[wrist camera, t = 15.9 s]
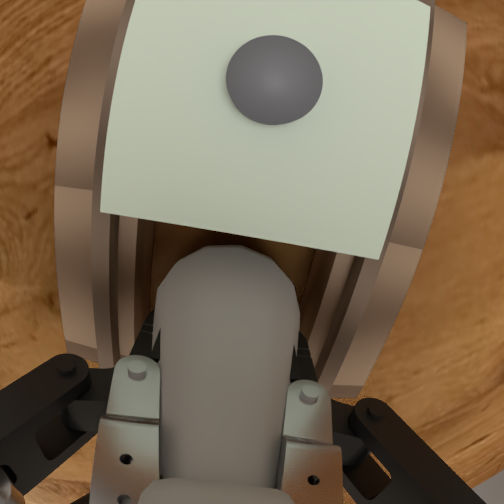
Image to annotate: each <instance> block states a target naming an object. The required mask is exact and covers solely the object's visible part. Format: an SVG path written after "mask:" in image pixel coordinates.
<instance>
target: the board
mask: <svg viewBox="0 0 504 504" xmlns="http://www.w3.org/2000/svg"><path fill="white" fill-rule="evenodd" d="M418 1H420V2H422V3H424V4H426V5H428V6H430V21H429V32H428V42H427V51H426V59H425V67H424V74H423V81H422V87H421V93H420V99H419V105H418V111H417V116H416V121H415V126H414V131H413V136H412V141H411V145H410V150H409V154H408V158H407V163H406V167H405V171H404V175H403V179H402V183H401V187H400V190H399V194H398V198H397V201H396V205H395V209H394V212H393V215H392V219H391V222H390V226H389V229H388V232H387V235H386V239H385V242H384V245H383V248H382V251H381V254H380V257H379V260H376V259H371V258H366V257H360V256H355V255H349V254H344V253H338V252H333V251H327V250H322V249H316V250H315V254H314V258H313V261H312V265H311V268H310V272H309V275H308V279H307V282H306V286H305V289H304V293H303V296H302V300H301V303H300V306H299V311H300V328H299V331H300V332H301V333H302V334H303V335H304V337H305V338H306V339H307V342H308V346H309V350H310V353H311V358H312V361H313V365H314V369H315V372H316V376H317V380H318V383H319V384H321V385H322V386H324V387H325V388H326V389H327V390H328V392H329V393H330V396H331V398H357V396H358V394H359V393H360V391H361V389H362V387H363V385H364V383H365V382H366V380H367V378H368V376H369V374H370V372H371V370H372V368H373V366H374V364H375V362H376V360H377V358H378V356H379V354H380V352H381V350H382V348H383V346H384V344H385V342H386V339H387V337H388V335H389V333H390V331H391V329H392V326H393V324H394V322H395V320H396V317H397V315H398V313H399V310H400V308H401V306H402V303H403V301H404V298H405V296H406V294H407V291H408V288H409V286H410V283H411V281H412V278H413V276H414V273H415V270H416V268H417V265H418V262H419V259H420V257H421V254H422V251H423V248H424V245H425V242H426V239H427V236H428V233H429V230H430V227H431V223H432V220H433V217H434V214H435V210H436V207H437V203H438V200H439V196H440V193H441V189H442V185H443V181H444V177H445V173H446V169H447V165H448V161H449V156H450V152H451V147H452V142H453V137H454V132H455V127H456V121H457V116H458V110H459V103H460V96H461V89H462V81H463V73H464V63H465V51H466V36H467V23H466V22H464V21H462V20H461V19H459V18H457V17H456V16H454V15H452V14H450V13H449V12H447V11H445V10H443V9H441V8H440V7H438V6H436V5H435V0H418ZM134 3H135V0H86V2H85V6H84V9H83V12H82V16H81V19H80V22H79V26H78V30H77V33H76V37H75V41H74V45H73V50H72V54H71V58H70V63H69V68H68V73H67V78H66V83H65V89H64V95H63V102H62V108H61V116H60V124H59V132H58V142H57V154H56V169H55V194H54V229H55V254H56V269H57V281H58V291H59V300H60V309H61V316H62V323H63V330H64V336H65V342H66V347H67V353H68V354H75V355H78V356H80V357H82V358H83V359H87V360H90V361H94V362H97V363H99V368H100V369H106V368H113V367H115V365H116V363H117V362H118V361H119V360H120V359H122V358H124V357H126V356H129V354H130V352H131V350H132V347H133V345H134V343H135V341H136V339H137V336H138V334H139V332H140V331H141V328H142V325H143V324H144V321H145V319H146V317H147V315H148V314H149V306H150V283H151V266H152V252H153V239H154V228H155V221H153V220H147V219H141V218H134V217H128V216H122V215H116V214H109V213H103V212H100V205H101V188H102V175H103V164H104V154H105V145H106V137H107V129H108V122H109V115H110V109H111V103H112V97H113V91H114V86H115V80H116V75H117V70H118V66H119V61H120V57H121V52H122V48H123V44H124V40H125V36H126V32H127V28H128V24H129V20H130V17H131V13H132V10H133V6H134Z"/></svg>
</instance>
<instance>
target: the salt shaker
mask: <svg viewBox="0 0 504 504" xmlns="http://www.w3.org/2000/svg"><path fill="white" fill-rule="evenodd" d="M160 327H161V333H160V360H159V362H158V363H157V364H158V366H159V368H160V399H159V475H162V478H163V479H160V480H154V481H153V482H152V483H151V484H150V485H149V486H148V487H147V488H146V489H145V490H144V491H143V492H142V493H141V495H140V498H139V502H138V504H295V503H294V501H293V500H292V499H291V497H290V496H289V494H287V493H285V492H282V491H280V490H278V489H274V488H276V486H277V477H276V474H277V467H278V460H279V453H280V445H281V438H282V430H283V422H284V414H285V406H286V397H287V390H288V387H289V386H290V384H291V382H290V371H291V363H292V354H293V346H295V351H296V356H297V349H298V347H297V346H298V333H299V328H300V311H299V306H298V302H297V297H296V293H295V288H294V285H293V283H292V282H291V280H290V279H289V278H288V276H287V275H286V274H285V273H284V272H283V271H282V270H281V269H280V267H279V266H278V265H277V264H276V263H275V262H274V261H273V259H272V258H271V257H269V256H266V255H264V254H261V253H259V252H257V251H254V250H252V249H249V248H247V247H245V246H242V245H212V246H205V247H203V248H201V249H199V250H197V251H195V252H193V253H191V254H189V255H187V256H186V257H184V258H182V259H180V260H178V261H177V262H176V263H175V265H174V266H173V267H172V269H171V270H170V272H169V273H168V274H167V276H166V277H165V279H164V280H163V281H162V283H161V284H160V286H159V287H158V288H157V295H156V303H155V311H154V322H153V332H152V334H153V337H152V349H153V346H154V343H155V341H156V338H157V335H158V333H159V330H160ZM131 503H132V500H131V499H124V500H123V501H122V502H121V504H131Z"/></svg>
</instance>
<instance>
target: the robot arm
mask: <svg viewBox="0 0 504 504" xmlns="http://www.w3.org/2000/svg"><path fill="white" fill-rule="evenodd" d="M154 311H155V309H154V310H153V311H151V312H150V313H149V314H148V315H147V317H146V319H145V321H144V324H143V325H142V328H141V331H140V332H139V334H138V336H137V339H136V341H135V343H134V345H133V347H132V350H131V352H130V354H129V356H126V357H124V358H122V359H120V360H119V361H118V362H117V363H116V365H115V367H113V368H106V369H97V368H89V367H88V364H87V362H86V361H85V360H84V359H83V358H82V357H80V356H78V355H75V354H67V353H66V354H60V355H57V356H55V357H53V358H51V359H49V360H48V361H46V362H45V363H43V364H41V365H40V366H38V367H37V368H35V369H33V370H32V371H30V372H29V373H27V374H26V375H24V376H22V377H21V378H19V379H18V380H16V381H14V382H13V383H11V384H10V385H8V386H6V387H5V388H3V389H2V390H0V504H25V500H24V497H23V496H24V495H25V494H27V493H28V492H29V491H30V490H31V489H33V488H34V487H35V486H36V485H37V484H39V483H40V482H41V481H42V480H43V479H45V478H46V477H47V476H48V475H49V474H51V473H52V472H53V471H54V470H55V469H56V468H58V467H59V466H60V465H61V464H62V463H64V462H65V461H66V460H67V459H68V458H69V457H71V456H72V455H73V454H74V453H75V452H76V451H77V450H79V449H80V448H81V447H82V446H83V445H84V444H86V443H87V442H88V441H89V440H90V439H91V438H92V437H94V436H95V435H96V434H97V432H98V434H97V441H96V448H95V455H94V463H93V471H92V480H91V490H90V493H88V494H86V495H85V496H83V497H81V498H79V499H78V500H76V501H74V502H72V503H71V504H121V502H122V501H123V500H124V499H131V500H132V503H131V504H138V502H139V498H140V495H141V493H142V492H143V491H144V490H145V489H146V488H147V487H148V486H149V485H150V484H151V483H152V482H153V481H154V480H160V479H163V478H162V475H159V399H160V368H159V366H158V364H157V363H158V362H159V360H160V333H161V327H160V330H159V333H158V335H157V338H156V341H155V343H154V346H153V349H152V337H153V334H152V332H153V322H154ZM297 347H298V349H297V356H296V351H295V346H293V354H292V363H291V371H290V382H291V384H290V386H289V387H288V390H287V397H286V406H285V414H284V422H283V430H282V438H281V445H280V453H279V460H278V467H277V474H276V477H277V486H276V488H274V489H278V490H280V491H282V492H285V493H287V494H289V496H290V497H291V499H292V500H293V501H294V503H295V504H343V487H344V488H345V489H346V491H347V492H348V493H349V495H350V496H351V497H352V498H353V500H354V501H355V502H356V503H357V504H486V503H485V502H484V501H483V500H482V499H481V498H480V497H479V496H478V495H477V494H476V493H475V492H474V491H473V490H472V489H471V488H470V487H469V486H468V485H467V484H466V483H465V482H464V481H463V480H462V479H461V478H460V477H459V476H458V475H457V474H456V473H455V472H454V471H453V470H452V469H451V468H450V467H449V466H448V465H447V464H446V463H445V462H444V461H443V460H442V459H441V458H440V457H439V456H438V455H437V454H436V453H435V452H434V451H433V450H432V449H431V448H430V447H429V446H428V445H427V444H426V443H425V442H424V441H423V440H422V439H421V438H420V437H419V436H418V435H417V434H416V433H415V432H414V431H413V430H412V429H411V428H410V427H409V426H408V425H407V424H406V423H405V422H404V421H403V420H402V419H401V418H400V417H399V416H398V415H397V414H396V413H395V412H394V411H393V410H392V409H391V408H390V407H389V406H388V405H387V404H386V403H384V402H383V401H381V400H378V399H375V398H364V399H361V400H359V401H358V402H357V403H356V405H355V406H351V405H347V404H344V403H340V402H337V401H335V400H333V399H331V396H330V393H329V392H328V390H327V389H326V388H325V387H324V386H322V385H321V384H319V383H318V380H317V376H316V372H315V369H314V365H313V361H312V358H311V353H310V350H309V346H308V342H307V339H306V338H305V337H304V335H303V334H302V333H301V332H300V331H299V333H298V346H297ZM371 452H372V453H373V454H374V455H375V456H376V458H377V459H378V460H379V461H380V462H381V463H382V464H383V465H384V467H385V468H386V469H387V470H388V471H389V473H390V475H391V479H390V477H389V476H388V475H387V474H386V473H385V472H384V471H383V470H382V468H381V467H380V466H379V465H378V464H377V463H376V462H375V460H374V459H373V458H372V457H371V456H370V455H369V454H370V453H371Z"/></svg>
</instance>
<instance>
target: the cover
mask: <svg viewBox="0 0 504 504" xmlns="http://www.w3.org/2000/svg"><path fill="white" fill-rule="evenodd" d="M429 21H430V6H428V5H426V4H424V3H422V2H420V1H418V0H135V3H134V6H133V10H132V13H131V17H130V20H129V24H128V28H127V32H126V36H125V40H124V44H123V48H122V52H121V57H120V61H119V66H118V70H117V75H116V80H115V86H114V91H113V97H112V103H111V109H110V115H109V122H108V129H107V137H106V145H105V154H104V164H103V175H102V188H101V205H100V212H103V213H109V214H116V215H122V216H128V217H134V218H141V219H147V220H153V221H159V222H165V223H171V224H177V225H183V226H190V227H196V228H201V229H207V230H213V231H219V232H225V233H231V234H237V235H243V236H248V237H254V238H260V239H266V240H271V241H277V242H283V243H288V244H294V245H300V246H305V247H311V248H316V249H322V250H327V251H333V252H338V253H344V254H349V255H355V256H360V257H366V258H371V259H376V260H379V257H380V254H381V251H382V248H383V245H384V242H385V239H386V235H387V232H388V229H389V226H390V222H391V219H392V215H393V212H394V209H395V205H396V201H397V198H398V194H399V190H400V187H401V183H402V179H403V175H404V171H405V167H406V163H407V158H408V154H409V150H410V145H411V141H412V136H413V131H414V126H415V121H416V116H417V111H418V105H419V99H420V93H421V87H422V81H423V74H424V67H425V59H426V51H427V42H428V32H429Z"/></svg>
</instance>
